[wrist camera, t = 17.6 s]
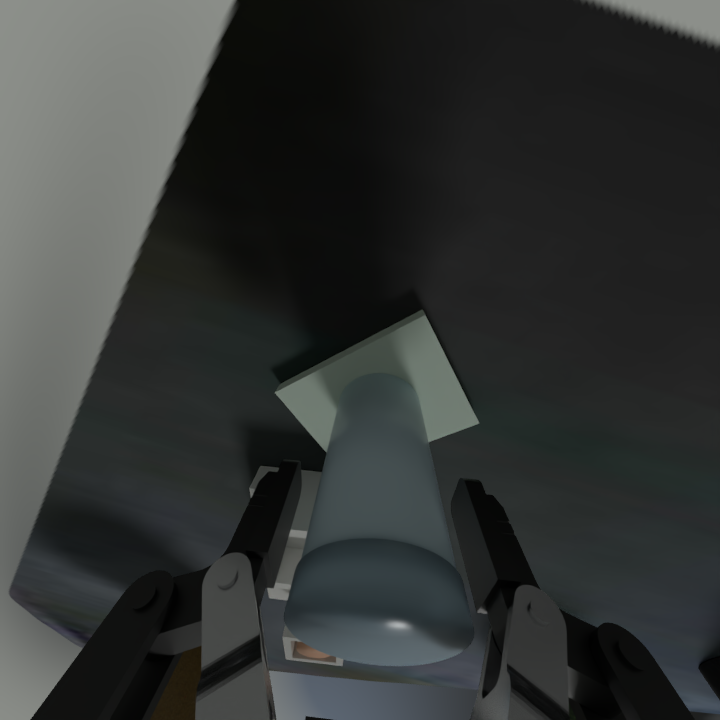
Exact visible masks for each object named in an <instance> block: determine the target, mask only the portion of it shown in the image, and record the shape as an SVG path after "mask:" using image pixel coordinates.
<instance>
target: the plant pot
mask: <svg viewBox="0 0 720 720" xmlns="http://www.w3.org/2000/svg"><path fill="white" fill-rule="evenodd" d="M201 655H202V646H199V647H196V648H193V649H190V650H187V651H184V652H183V654H182V656H181V658H180V660H179V662H178V664H177V666H176V668H175V670H174V672H173V674H172V676H171V678H170V680H169V682H168V684H167V686H166V688H165V690H164V692H163V694H162V696H161V698H160V700H159V702H158V704H157V706H156V708H155V710H154V712H153V714H152V716H151V719H150V720H195V711H196V693H197V686H198V682H199V680H200V677H201Z"/></svg>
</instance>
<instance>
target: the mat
mask: <svg viewBox="0 0 720 720" xmlns="http://www.w3.org/2000/svg"><path fill="white" fill-rule="evenodd" d="M373 373H384V374H390V375H394V376H396V377H399V378H401V379H403V380H404V381H406V382H407V383H409V384H410V385H411V386H412V387H413V389H414V390H415V391H416V393H417V395H418V398H419V401H420V405H421V410H422V415H423V419H424V424H425V428H426V433H427V437H428V442H430V441H433V440H436V439H438V438H441V437H444V436H446V435H449V434H452V433H455V432H457V431H460V430H463V429H465V428H468V427H471V426H474V425H476V424H479V422H478V420H477V418H476V416H475V414H474V412H473V410H472V408H471V406H470V404H469V402H468V400H467V398H466V396H465V394H464V392H463V390H462V388H461V386H460V384H459V382H458V380H457V378H456V376H455V374H454V372H453V370H452V368H451V366H450V363H449V361H448V359H447V357H446V355H445V353H444V351H443V349H442V347H441V345H440V343H439V341H438V339H437V337H436V335H435V333H434V331H433V329H432V327H431V325H430V323H429V321H428V319H427V317H426V315H425V313H424V311H423V310H420V311H418V312H416V313H414V314H413V315H411V316H409V317H407V318H405V319H403V320H401V321H399V322H397V323H395V324H393V325H392V326H390V327H388V328H386V329H384V330H382V331H380V332H378V333H376V334H374V335H373V336H371V337H369V338H367V339H365V340H363V341H361V342H359V343H357V344H355V345H353V346H352V347H350V348H348V349H346V350H344V351H342V352H340V353H338V354H336V355H334V356H332V357H331V358H329V359H327V360H325V361H323V362H321V363H319V364H317V365H315V366H313V367H311V368H310V369H308V370H306V371H304V372H302V373H300V374H298V375H296V376H294V377H292V378H291V379H289V380H287V381H285V382H283V383H281V384H280V385H279V387H278V388H277V390H276V391H275V393H276V395H277V396H278V397H279V398H280V399H281V400H282V402H283V403H284V404H285V405H286V406H287V407H288V409H289V410H290V411H291V412H292V413H293V414H294V416H295V417H296V418H297V419H298V420H299V421H300V423H301V424H302V425H303V426H304V427H305V428H306V430H307V431H308V432H309V433H310V434H311V435H312V437H313V438H314V439H315V440H316V441H317V442H318V444H319V445H320V446H321V447H322V448H323V449H324V451H325V452H326V453H327V449H328V445H329V441H330V437H331V432H332V428H333V424H334V420H335V416H336V412H337V408H338V403H339V399H340V396H341V394H342V392H343V390H344V389H345V387H346V386H347V385H348V384H349V383H351V382H352V381H353V380H355V379H357V378H359V377H361V376H364V375H367V374H373Z"/></svg>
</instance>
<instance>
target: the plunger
mask: <svg viewBox="0 0 720 720" xmlns="http://www.w3.org/2000/svg"><path fill="white" fill-rule="evenodd" d="M296 650H297V652H299V653H300V654H302V655H304V656H307V657H312V658H326V657H329V656H331V655H328V654H325V653H323V652H320V651H318V650H316V649H313V648H311V647H310V646H308V645H306V644H304V643H303V642H298V643H297V648H296Z"/></svg>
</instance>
